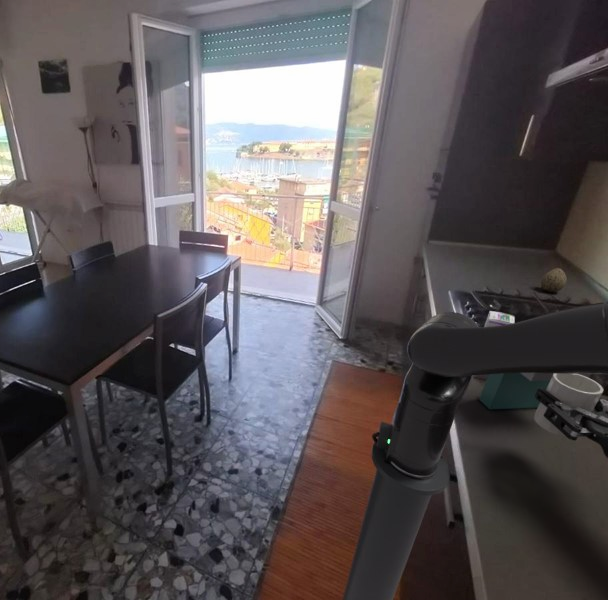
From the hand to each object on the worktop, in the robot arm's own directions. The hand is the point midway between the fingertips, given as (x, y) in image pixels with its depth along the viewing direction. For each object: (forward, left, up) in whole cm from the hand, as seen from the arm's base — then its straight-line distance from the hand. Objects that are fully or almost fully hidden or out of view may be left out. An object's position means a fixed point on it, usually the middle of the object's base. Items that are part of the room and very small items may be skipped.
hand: (556, 391), depth 67 cm
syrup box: (-3, +34, -16) cm, 38 cm away
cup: (+1, -2, -6) cm, 6 cm away
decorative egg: (+26, +102, -16) cm, 106 cm away
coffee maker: (+1, +13, -15) cm, 20 cm away
